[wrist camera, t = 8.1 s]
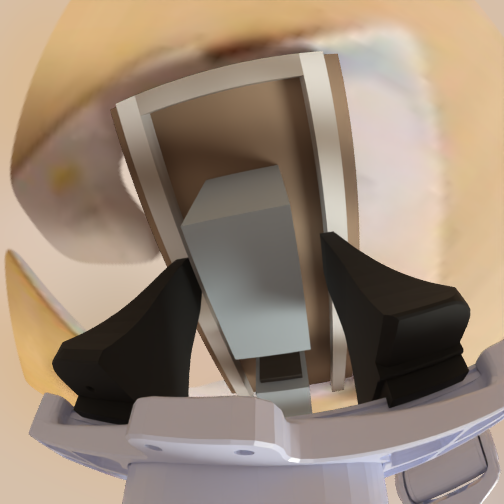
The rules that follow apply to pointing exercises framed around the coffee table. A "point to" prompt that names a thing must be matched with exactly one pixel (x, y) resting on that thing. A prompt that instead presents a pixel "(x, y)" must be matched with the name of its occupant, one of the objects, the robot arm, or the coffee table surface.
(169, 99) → the raised edge track
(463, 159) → the coffee table surface
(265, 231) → the gripped grey block
